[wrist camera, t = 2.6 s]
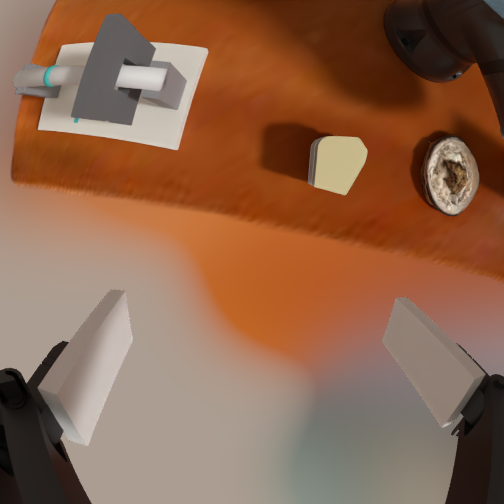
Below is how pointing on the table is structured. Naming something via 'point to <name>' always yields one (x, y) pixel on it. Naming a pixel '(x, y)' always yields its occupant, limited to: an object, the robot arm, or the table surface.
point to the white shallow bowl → (449, 175)
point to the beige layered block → (336, 162)
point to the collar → (112, 73)
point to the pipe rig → (146, 78)
